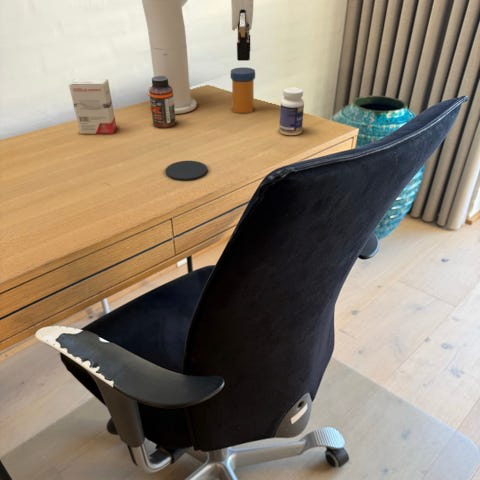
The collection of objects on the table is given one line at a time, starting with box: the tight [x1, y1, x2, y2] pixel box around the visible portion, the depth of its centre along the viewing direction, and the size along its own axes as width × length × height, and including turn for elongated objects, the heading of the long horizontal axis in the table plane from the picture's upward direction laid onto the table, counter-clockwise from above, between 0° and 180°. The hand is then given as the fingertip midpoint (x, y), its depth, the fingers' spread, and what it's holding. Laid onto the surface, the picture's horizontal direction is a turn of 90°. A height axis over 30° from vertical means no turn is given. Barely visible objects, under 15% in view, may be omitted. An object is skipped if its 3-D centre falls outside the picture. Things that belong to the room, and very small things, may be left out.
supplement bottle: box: [148, 76, 176, 129], centre depth 121 cm, size 6×6×11 cm
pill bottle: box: [279, 87, 305, 136], centre depth 117 cm, size 6×6×10 cm
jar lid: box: [230, 66, 256, 82], centre depth 126 cm, size 6×6×2 cm
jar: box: [231, 79, 255, 114], centre depth 129 cm, size 6×6×10 cm
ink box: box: [68, 78, 117, 135], centre depth 118 cm, size 8×5×12 cm, turn 89°
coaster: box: [165, 160, 208, 182], centre depth 103 cm, size 9×9×1 cm
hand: (244, 55), depth 123 cm, fingers open, 7 cm apart
